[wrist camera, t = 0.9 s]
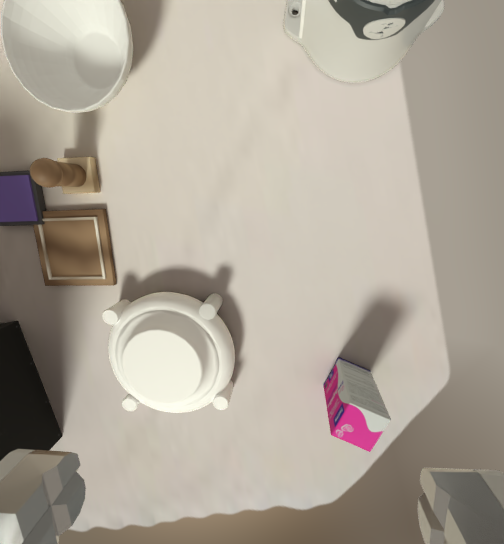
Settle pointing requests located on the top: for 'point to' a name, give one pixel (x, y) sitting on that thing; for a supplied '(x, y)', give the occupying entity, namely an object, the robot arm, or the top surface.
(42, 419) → the coffee maker
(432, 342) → the top surface
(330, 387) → the supplement box
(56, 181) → the stamp
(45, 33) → the bowl
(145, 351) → the round stand with pegs
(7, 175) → the ink pad
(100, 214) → the board
